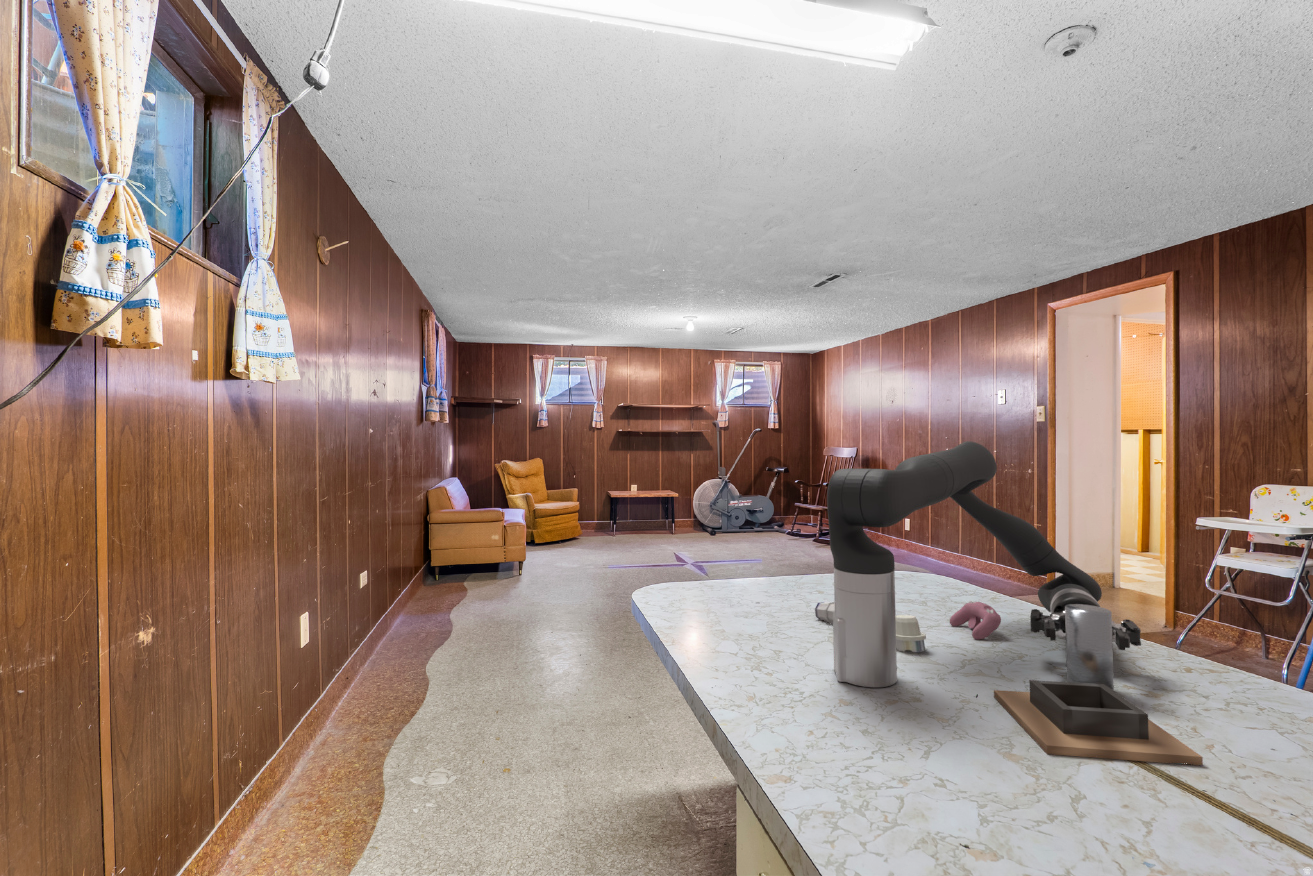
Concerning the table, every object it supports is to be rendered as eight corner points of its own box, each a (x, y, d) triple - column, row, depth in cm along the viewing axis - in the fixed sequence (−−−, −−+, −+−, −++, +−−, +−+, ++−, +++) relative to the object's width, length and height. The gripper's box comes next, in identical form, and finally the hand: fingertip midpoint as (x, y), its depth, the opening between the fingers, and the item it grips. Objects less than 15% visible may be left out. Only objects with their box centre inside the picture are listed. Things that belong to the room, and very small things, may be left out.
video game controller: (994, 648, 109) (1010, 615, 109) (972, 638, 109) (988, 604, 109) (966, 632, 119) (980, 601, 119) (946, 622, 119) (960, 592, 119)
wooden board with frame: (1046, 753, 68) (1045, 719, 68) (993, 697, 84) (993, 669, 84) (1202, 765, 65) (1201, 730, 65) (1117, 704, 81) (1116, 675, 81)
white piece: (829, 599, 126) (928, 610, 104) (833, 630, 125) (934, 649, 103) (811, 602, 123) (908, 614, 101) (814, 634, 122) (914, 654, 101)
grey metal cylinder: (1079, 696, 84) (1076, 613, 84) (1059, 681, 89) (1057, 603, 90) (1122, 699, 83) (1120, 615, 83) (1100, 683, 88) (1098, 604, 89)
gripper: (1028, 587, 106) (1030, 608, 92) (1127, 596, 98) (1146, 621, 84) (1029, 628, 105) (1032, 655, 92) (1128, 641, 98) (1148, 672, 84)
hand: (1086, 638), depth 88 cm, fingers open, 8 cm apart
